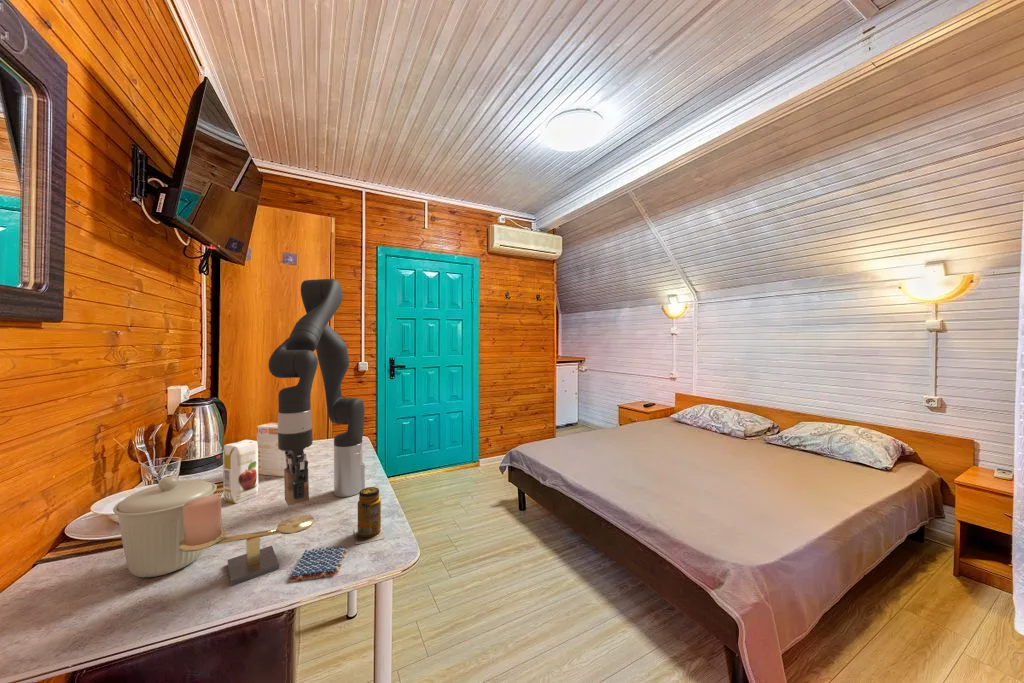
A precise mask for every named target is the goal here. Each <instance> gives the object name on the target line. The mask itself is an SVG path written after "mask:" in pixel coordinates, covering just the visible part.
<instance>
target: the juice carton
mask: <svg viewBox="0 0 1024 683" xmlns="http://www.w3.org/2000/svg"><path fill="white" fill-rule="evenodd" d="M222 461H223V462H222V466H223V467H222V469H223V470H222V471H223V472H222V474H223V498H224V501H226V502H228V503H232V504H240V503H242V502H244V501H247V500H249V499H252V498H255V497H257V496H258V493H259V474H258V445H257V440H251V439H243V440H242V439H241V441H237V442H231V443H227V444H224V445H223V454H222Z"/></svg>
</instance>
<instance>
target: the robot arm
mask: <svg viewBox="0 0 1024 683" xmlns="http://www.w3.org/2000/svg"><path fill="white" fill-rule="evenodd" d="M300 296H301V302H302V304H303V307H304V310H305V314H304V315H303V316H302V317H301V318H299V320H298V321H296V323H295V325H294V327H292V328H293V329H292V330H291V333H290V335H289V337H288V338H286V339H285V340H284V341H283V342H282V343H280V345H278V347H277V348H275V350H274V351H273V352H272V353H271V355H270V357H269V360H268V370H269V372H270V374H271V375H272V376H273V377H275V378H279V379H292V378H295V379H296V378H297V379H299V380H298V382H297V383H296V385H292V386H288V387H284V388H282V389H280V390H279V392H278V396H277V397H278V398H277V399H278V400H277V401H278V403H277V404H278V415H277V416H278V417H277V423H278V448H279V449H280V450H282V451H285V457H286V458H285V459H286V468H287V469H288V468H290V473H291V475H292V476H293V485H294V499H300V498H303V497H304V483H305V482H307V471H308V472H309V461H308V459H307V458H308V457H307V454H306V453H304V452H305V449H306V448H309V447H311V446H312V445H313V415H312V408H311V407H312V405H311V399H312V398H311V397H312V396H311V393H312V387H313V383H314V379H315V376H316V373H317V370H318V367H319V369H320V371H321V376H322V377H321V378H322V380H323V386H324V392H325V393H324V394H325V401H326V409H327V410H326V411H327V415H328V419H329V421H330V422H331V423H333V424H335V425H347V430H346V431H345V432H341V433H339V434H337V435H335V436H334V438H333V487H334V488H333V490H334V491H333V492H334V493H333V494H334V496H336V497H340V498H344V497H345V498H346V497H351V496H356V495H359V492H360V491H361V490H362V489H364V488H366V484H365V481H366V478H365V477H366V476H365V474H366V472H365V471H366V470H365V467H366V466H365V465H366V464H365V463H364V462H363V460H364V459H363V435H364V432H365V430H364V429H365V414H366V413H365V404H364V401H363V400H362V399H361V398H357V397H343V393H342V387H341V386H342V382H343V380H344V378H345V375H346V373H347V372H348V369H349V366H350V358H349V356H350V355H349V351H348V347H347V343H346V342H345V341H344V339H343V338H342V337H341V336H340V335H339V333H337V332H336V331H335V330H334V329H333V328H332V327H331V326H330V325H329V324H328V323H329V322H330V321H331V319H332V318H333V317H334V315H335V313H336V312H337V310H339V308H340V307H341V305H342V302H343V296H344V295H343V288H342V285H341V284H340V282H339V280H337V279H335V278H320V279H316V278H315V279H305V280H303V281H302V283H301V285H300ZM314 351H316V353H315V352H314ZM318 365H319V366H318ZM293 470H295V472H294V471H293ZM299 476H302V478H300V479H298V477H299Z"/></svg>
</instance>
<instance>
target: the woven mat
mask: <svg viewBox="0 0 1024 683" xmlns="http://www.w3.org/2000/svg"><path fill="white" fill-rule="evenodd" d="M321 549H322V550H321ZM347 552H348V549H346V546H345V545H344V546H342V545H339V547H338V546H337V547H335V546H332V547H330V548H329V547H328V546H327V547H325V548H322V547H319V549H315V548H312V550H308V549H305V550H304V552H303V553H301V556H300V557H298V558H299V560H298V561H296V564H295V566H294V567H293V569H292V571H291V573H290V576H289V577H290V580H289V582H297V581H304V580H310V579H311V580H312V579H318V578H326V577H332V576H333V577H334V576H338V575H339V573H338V572H339V571H340V569H341V566H342V565H343V564H342V561H343V558H346V557H345V556H346V553H347Z"/></svg>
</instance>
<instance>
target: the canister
mask: <svg viewBox="0 0 1024 683" xmlns="http://www.w3.org/2000/svg"><path fill="white" fill-rule="evenodd" d="M216 491H217V485H216V483H214V482H210V481H208V480H207V481H206V480H203V479H201V480H200V479H184V480H183V479H182V480H179V478H178V477H176V476H172V475H171V476H165V477H162V478H161V479H160V480H159V481H158V483H157V485H154V486H150V487H148V488H145V489H144V488H143V489H141V490H139V491H137V492H135V493H133V494H130V495H129V496H127V497H126V498H124V499H123V500H121V501H120V502H117V504H115V505H114V507H113V509H112V512H113V513H114V514H115V515H116V516H117V519H118V524H119V531H120V536H121V542H122V548H123V551H124V557H125V562H126V564H127V569H128V571H129V572H130V573H131V574H132V575H133V576H135V577H137V578H138V577H139V578H155V577H160V576H163V575H164V576H165V575H167V574H171V573H173V572H176V571H178V570H180V569H183V568H185V567H187V566H188V565H190V564H192V563H193V562H195V561H196V560H197V559H198V558H199V557H201V555H202V554H203V552H204V551H205V549H202V550H198V551H192V552H183V551H180V550H179V543H180V541H181V540H183V539H184V515H183V506H184V504H186V503H187V502H189V501H191V500H194V499H197V498H201V497H205V496H214V493H215V492H216Z"/></svg>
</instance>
